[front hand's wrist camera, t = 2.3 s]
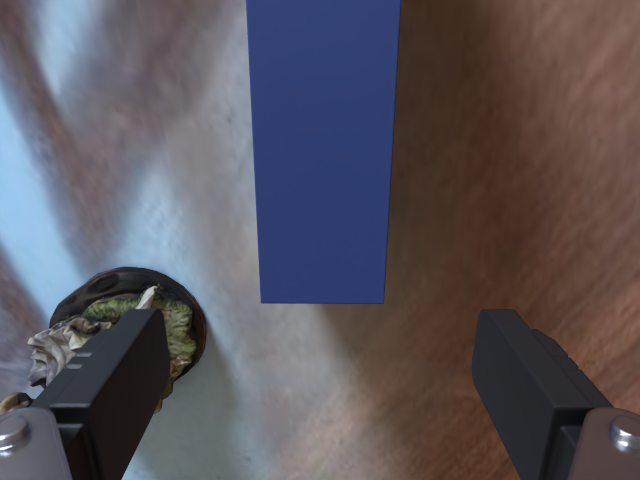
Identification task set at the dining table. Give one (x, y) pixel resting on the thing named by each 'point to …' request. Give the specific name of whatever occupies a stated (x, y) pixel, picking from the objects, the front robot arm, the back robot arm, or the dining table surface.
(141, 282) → the figurine
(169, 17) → the dining table surface
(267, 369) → the dining table surface
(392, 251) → the dining table surface
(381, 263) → the box
